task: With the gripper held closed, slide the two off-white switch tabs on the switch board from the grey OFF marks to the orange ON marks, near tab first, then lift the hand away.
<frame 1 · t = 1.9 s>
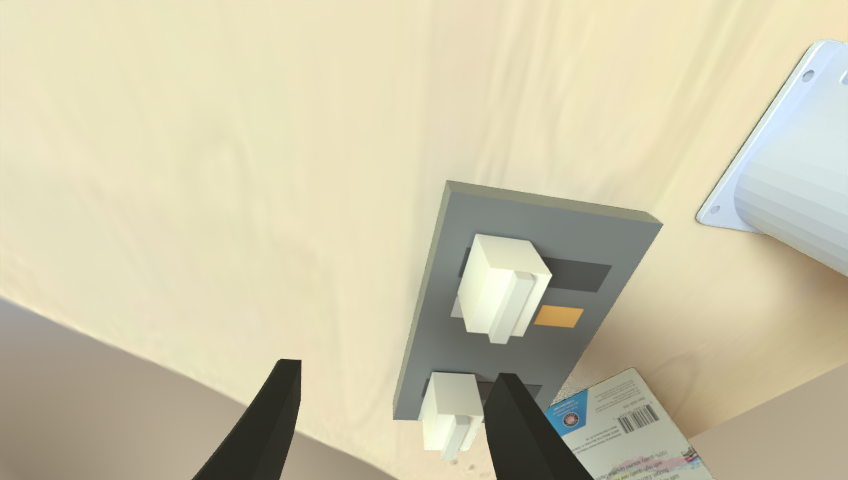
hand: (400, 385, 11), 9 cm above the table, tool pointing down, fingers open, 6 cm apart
ink box: (602, 407, 31), on the table
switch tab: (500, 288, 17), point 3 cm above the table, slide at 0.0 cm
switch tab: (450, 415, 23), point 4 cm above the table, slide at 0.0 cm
switch board: (499, 321, 23), on the table
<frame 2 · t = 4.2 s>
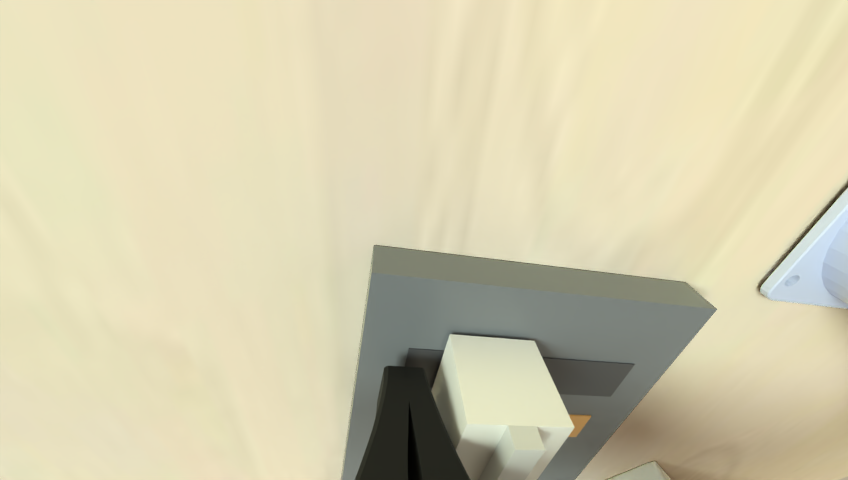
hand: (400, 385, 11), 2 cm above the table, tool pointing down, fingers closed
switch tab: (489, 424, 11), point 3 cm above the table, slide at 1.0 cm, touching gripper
switch board: (472, 420, 17), on the table
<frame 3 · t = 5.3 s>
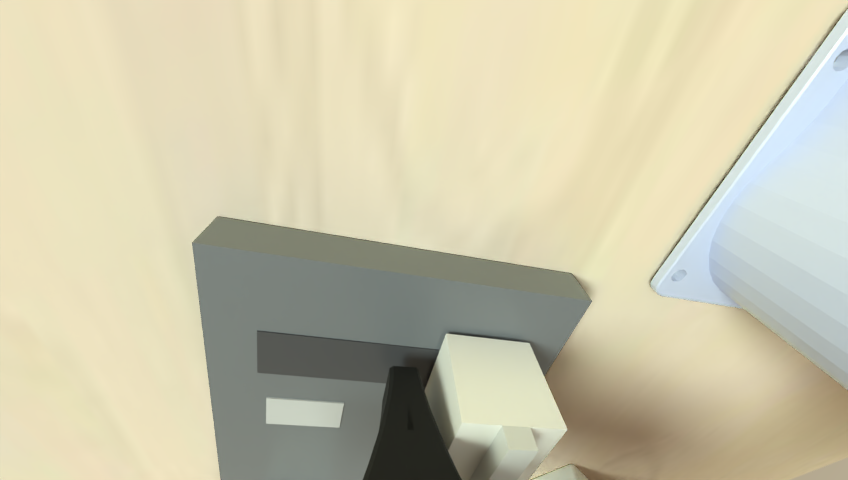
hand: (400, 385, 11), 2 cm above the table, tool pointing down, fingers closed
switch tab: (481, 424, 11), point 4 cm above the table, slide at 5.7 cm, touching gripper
switch board: (368, 414, 16), on the table
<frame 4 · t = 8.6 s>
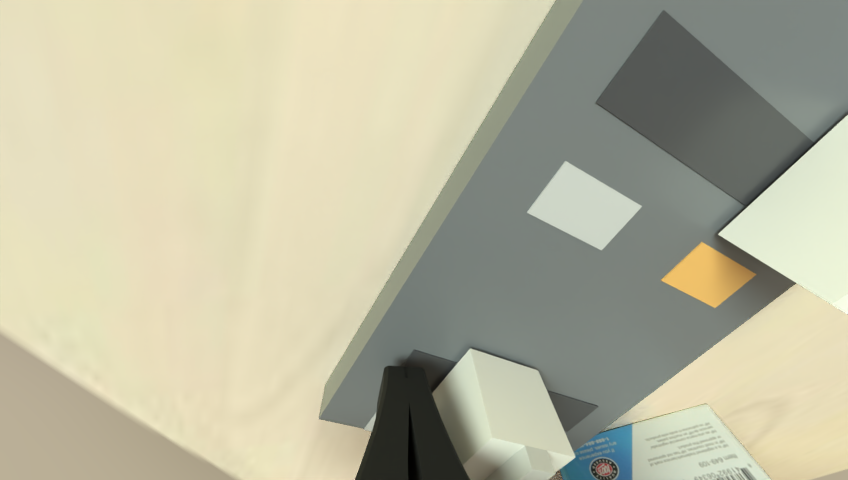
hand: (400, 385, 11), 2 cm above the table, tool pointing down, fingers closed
ink box: (629, 454, 21), on the table
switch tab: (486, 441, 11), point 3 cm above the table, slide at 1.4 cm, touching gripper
switch board: (575, 271, 12), on the table
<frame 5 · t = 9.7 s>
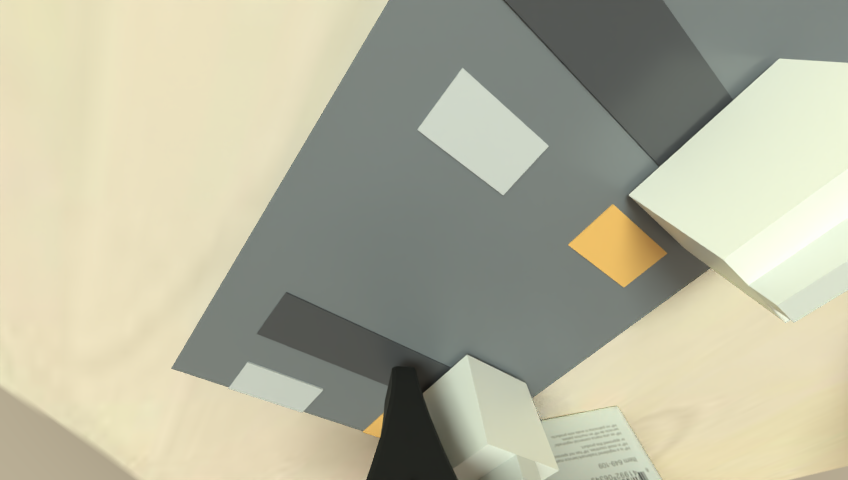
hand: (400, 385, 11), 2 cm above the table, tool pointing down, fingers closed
ink box: (537, 455, 20), on the table
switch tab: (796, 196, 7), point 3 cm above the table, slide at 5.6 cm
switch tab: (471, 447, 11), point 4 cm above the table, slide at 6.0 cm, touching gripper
switch board: (486, 231, 11), on the table
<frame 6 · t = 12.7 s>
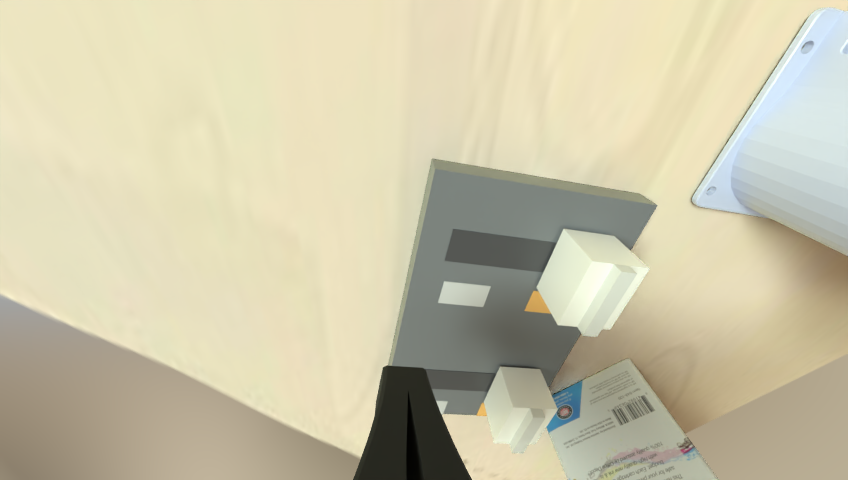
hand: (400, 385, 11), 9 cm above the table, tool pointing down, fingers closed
ink box: (598, 399, 30), on the table
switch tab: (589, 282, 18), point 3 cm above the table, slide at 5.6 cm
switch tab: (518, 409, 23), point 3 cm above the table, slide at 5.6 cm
switch board: (489, 309, 23), on the table
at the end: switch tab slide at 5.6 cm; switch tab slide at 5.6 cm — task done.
